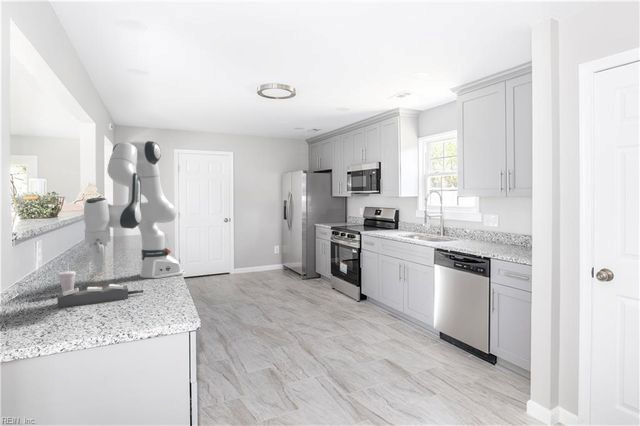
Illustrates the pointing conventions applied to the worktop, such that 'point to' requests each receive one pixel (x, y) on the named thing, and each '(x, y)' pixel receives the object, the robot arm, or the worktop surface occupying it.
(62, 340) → the worktop surface
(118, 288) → the plate
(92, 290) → the rocker
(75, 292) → the block
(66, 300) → the power strip
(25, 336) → the worktop surface
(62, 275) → the smoothie
